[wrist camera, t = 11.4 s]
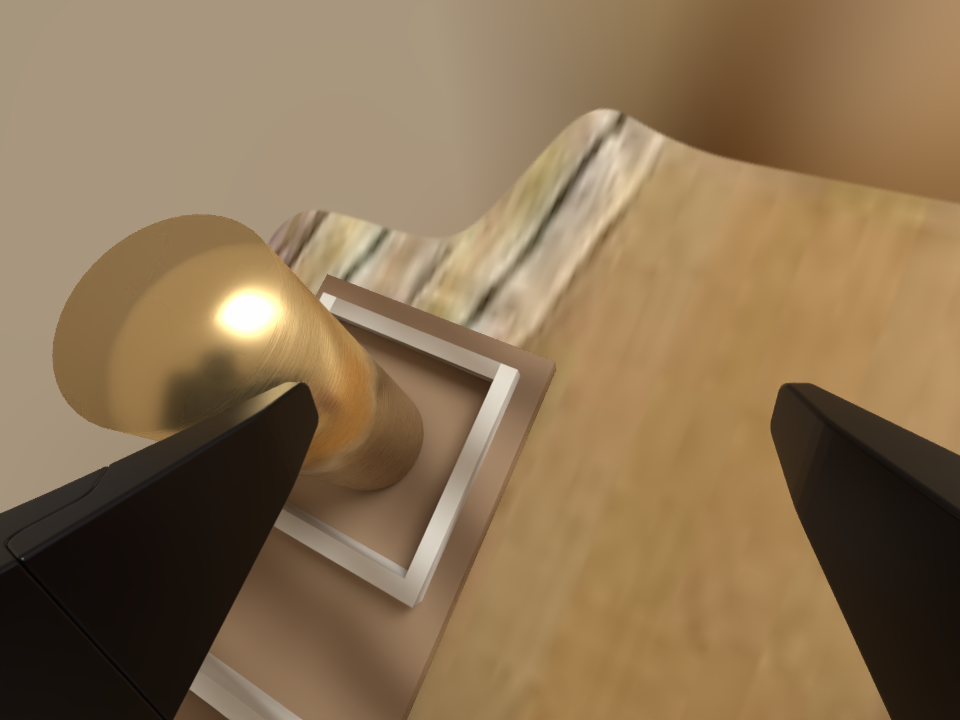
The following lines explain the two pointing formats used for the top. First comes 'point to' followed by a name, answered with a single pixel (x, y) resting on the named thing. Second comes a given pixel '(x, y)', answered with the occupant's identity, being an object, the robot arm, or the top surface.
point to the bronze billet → (225, 349)
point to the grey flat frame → (377, 535)
